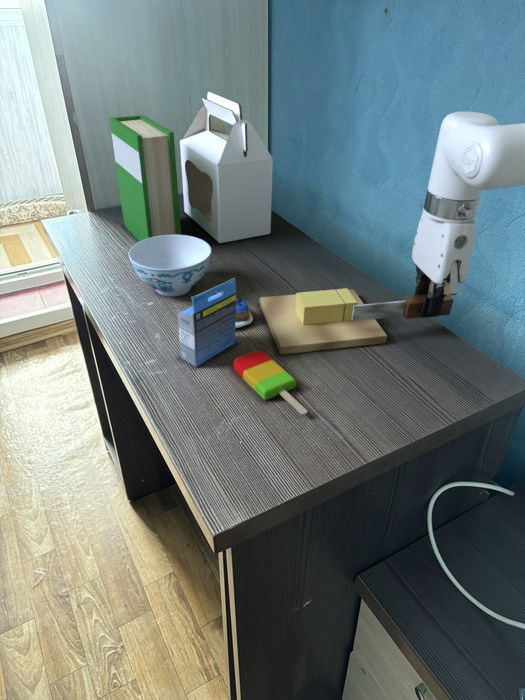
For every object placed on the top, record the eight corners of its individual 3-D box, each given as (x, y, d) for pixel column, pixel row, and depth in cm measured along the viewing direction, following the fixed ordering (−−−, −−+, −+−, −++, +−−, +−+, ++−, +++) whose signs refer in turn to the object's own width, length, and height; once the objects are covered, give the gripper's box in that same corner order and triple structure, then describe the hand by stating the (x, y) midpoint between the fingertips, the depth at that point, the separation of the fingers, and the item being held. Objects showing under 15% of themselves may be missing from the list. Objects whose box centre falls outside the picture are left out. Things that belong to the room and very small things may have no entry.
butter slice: (344, 305, 92) (347, 288, 90) (354, 320, 89) (357, 302, 86) (334, 306, 92) (336, 289, 90) (343, 321, 88) (346, 303, 86)
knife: (442, 307, 89) (446, 292, 87) (449, 314, 87) (454, 299, 85) (349, 316, 86) (351, 301, 84) (354, 324, 84) (356, 308, 82)
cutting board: (352, 296, 98) (353, 289, 98) (385, 343, 86) (387, 335, 85) (259, 304, 95) (259, 297, 94) (280, 354, 82) (280, 347, 82)
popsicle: (260, 357, 82) (260, 347, 81) (320, 411, 72) (322, 401, 71) (230, 368, 79) (230, 358, 78) (288, 426, 69) (289, 416, 68)
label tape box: (219, 335, 87) (217, 268, 79) (237, 344, 84) (236, 277, 77) (179, 358, 81) (173, 288, 74) (197, 369, 79) (192, 298, 72)
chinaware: (228, 286, 100) (228, 249, 96) (171, 317, 91) (167, 277, 86) (175, 263, 108) (172, 228, 104) (117, 289, 98) (111, 252, 94)
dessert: (263, 312, 91) (250, 295, 86) (246, 344, 90) (231, 329, 85) (228, 301, 95) (214, 284, 90) (211, 331, 94) (195, 316, 89)
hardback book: (182, 246, 115) (173, 132, 101) (150, 253, 112) (137, 136, 98) (153, 220, 127) (142, 114, 113) (124, 225, 124) (109, 117, 110)
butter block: (333, 306, 92) (335, 289, 90) (342, 321, 88) (344, 303, 86) (295, 310, 91) (296, 292, 89) (303, 325, 87) (304, 307, 85)
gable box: (183, 211, 132) (175, 90, 116) (230, 204, 137) (229, 87, 121) (219, 244, 116) (216, 109, 100) (271, 234, 122) (275, 104, 105)
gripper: (505, 223, 71) (470, 335, 81) (447, 185, 83) (423, 286, 94) (455, 227, 69) (426, 340, 80) (404, 188, 82) (385, 290, 93)
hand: (425, 310), depth 87 cm, fingers closed on knife, 2 cm apart
